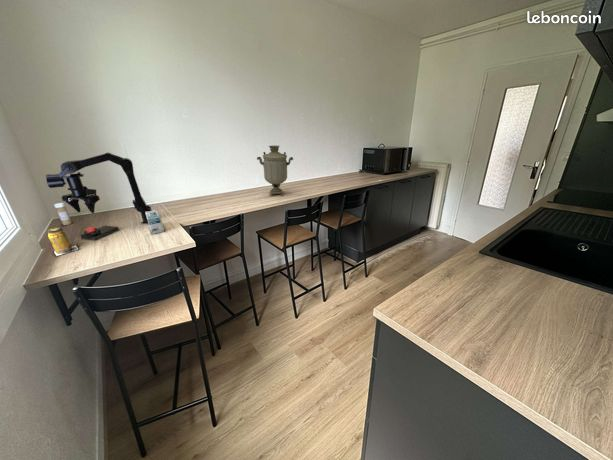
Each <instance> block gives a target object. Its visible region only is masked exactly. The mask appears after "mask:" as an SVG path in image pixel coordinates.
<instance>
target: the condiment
mask: <svg viewBox="0 0 613 460" xmlns="http://www.w3.org/2000/svg"><path fill="white" fill-rule="evenodd" d="M47 235H48V239H49V241H50V244H51V246H52V248H53V250H54V251H53V252H54V254H55V256H56V257H57V256H61V255H64V254H68V253H70V252H71V253H72V252H75V251H77V250H79V248H78V246H77V245H76V244H75V245H72V246H71V243H70V241H69V239H68V237H67V235H66V233H65V232H64V230H63V228H62V227H53V228H49V229H48V230H47Z"/></svg>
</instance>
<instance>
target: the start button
mask: <svg viewBox="0 0 613 460" xmlns="http://www.w3.org/2000/svg"><path fill="white" fill-rule="evenodd" d="M96 228H97V227H95V226H89V227H86V228H85V231H87V233H89V232H94V231H96Z"/></svg>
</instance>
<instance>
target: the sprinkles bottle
mask: <svg viewBox="0 0 613 460" xmlns="http://www.w3.org/2000/svg"><path fill="white" fill-rule="evenodd" d="M53 206H54V208H55V210H56V212H57V215H58V217H59V220H60V222H61V223H62V225H63V226H69V225H71V224H73V222H72V220H71V216H70V215H69V213H68V210H67V207H66V205H65V203H64V202H57V203H54V204H53Z"/></svg>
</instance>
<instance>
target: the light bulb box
mask: <svg viewBox="0 0 613 460" xmlns="http://www.w3.org/2000/svg"><path fill="white" fill-rule="evenodd" d="M145 213H146V217H147V220H148V223H149V224H148V226H149V229H150V232H151V234H152V235H154V234H159V233H163V232H165V228H164V224H163V220H162V217H161V213H160V212H159V210H158V209H155V210H152V211H147V212H145Z"/></svg>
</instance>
